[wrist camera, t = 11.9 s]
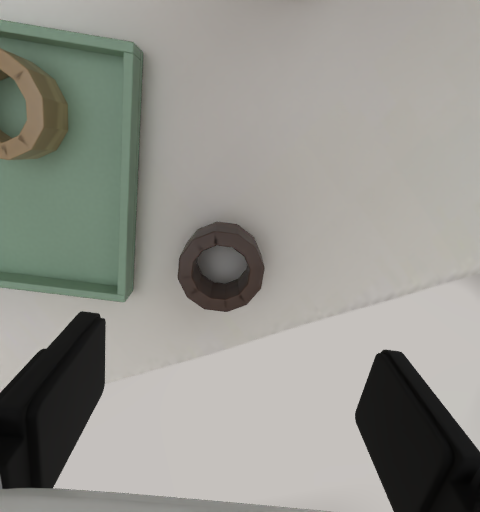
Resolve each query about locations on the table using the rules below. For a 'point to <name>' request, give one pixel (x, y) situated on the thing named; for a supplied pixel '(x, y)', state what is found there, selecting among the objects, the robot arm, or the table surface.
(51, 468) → the robot arm
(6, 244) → the tray
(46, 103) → the birch ring
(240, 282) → the walnut ring
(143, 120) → the table surface
